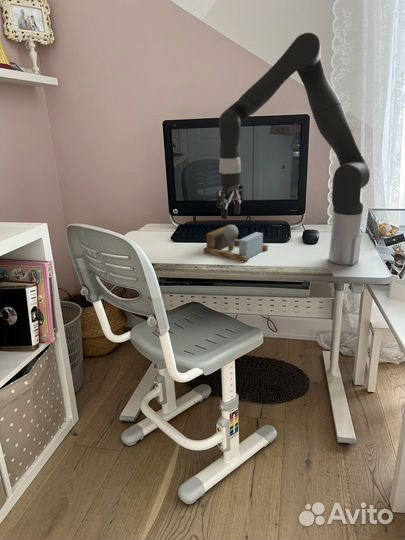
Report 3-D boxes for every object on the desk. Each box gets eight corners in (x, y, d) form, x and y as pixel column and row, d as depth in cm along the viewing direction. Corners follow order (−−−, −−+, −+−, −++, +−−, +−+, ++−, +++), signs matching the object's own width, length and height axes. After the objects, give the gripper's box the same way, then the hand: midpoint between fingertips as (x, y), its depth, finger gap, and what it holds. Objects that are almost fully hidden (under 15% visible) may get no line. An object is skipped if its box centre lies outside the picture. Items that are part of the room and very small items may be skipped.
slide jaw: (262, 250, 159) (262, 233, 157) (246, 259, 151) (246, 241, 148) (254, 249, 161) (254, 231, 159) (238, 257, 153) (238, 239, 150)
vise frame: (267, 250, 160) (268, 232, 158) (245, 262, 148) (245, 243, 146) (227, 242, 170) (227, 225, 168) (203, 253, 159) (203, 235, 156)
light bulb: (220, 251, 160) (220, 225, 157) (229, 247, 164) (229, 222, 161) (232, 254, 157) (232, 227, 154) (240, 250, 161) (241, 224, 157)
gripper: (231, 167, 157) (232, 211, 163) (209, 173, 146) (211, 219, 152) (249, 168, 153) (249, 213, 159) (228, 174, 142) (228, 222, 148)
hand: (230, 216), depth 155 cm, fingers open, 8 cm apart
